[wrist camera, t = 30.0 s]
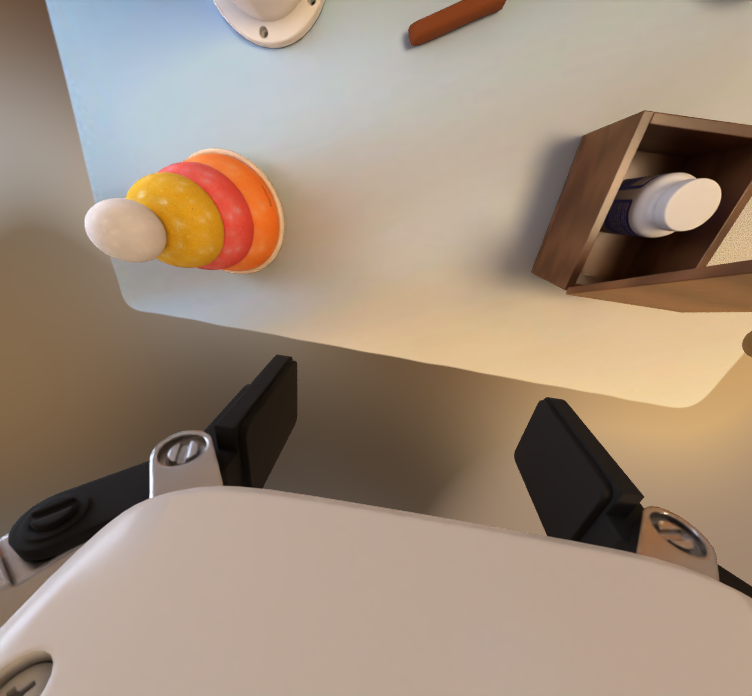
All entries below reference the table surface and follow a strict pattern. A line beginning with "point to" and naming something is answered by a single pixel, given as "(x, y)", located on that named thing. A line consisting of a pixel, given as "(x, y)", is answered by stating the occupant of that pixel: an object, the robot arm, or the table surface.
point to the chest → (634, 160)
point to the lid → (683, 291)
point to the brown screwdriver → (451, 19)
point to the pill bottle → (661, 205)
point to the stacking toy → (194, 216)
